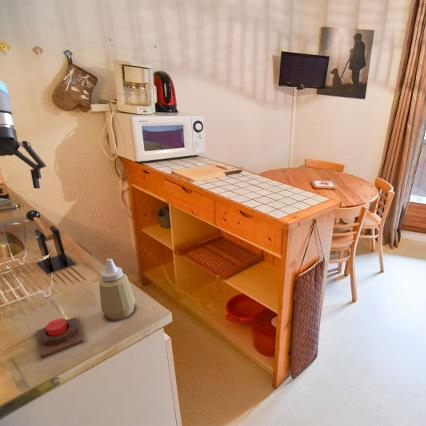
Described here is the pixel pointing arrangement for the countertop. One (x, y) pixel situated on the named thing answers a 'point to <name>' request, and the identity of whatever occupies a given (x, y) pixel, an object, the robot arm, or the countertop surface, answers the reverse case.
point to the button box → (59, 339)
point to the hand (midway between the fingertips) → (12, 190)
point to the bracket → (54, 262)
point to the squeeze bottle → (115, 292)
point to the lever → (40, 224)
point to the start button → (56, 327)
